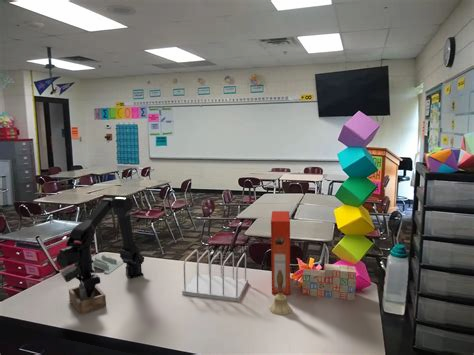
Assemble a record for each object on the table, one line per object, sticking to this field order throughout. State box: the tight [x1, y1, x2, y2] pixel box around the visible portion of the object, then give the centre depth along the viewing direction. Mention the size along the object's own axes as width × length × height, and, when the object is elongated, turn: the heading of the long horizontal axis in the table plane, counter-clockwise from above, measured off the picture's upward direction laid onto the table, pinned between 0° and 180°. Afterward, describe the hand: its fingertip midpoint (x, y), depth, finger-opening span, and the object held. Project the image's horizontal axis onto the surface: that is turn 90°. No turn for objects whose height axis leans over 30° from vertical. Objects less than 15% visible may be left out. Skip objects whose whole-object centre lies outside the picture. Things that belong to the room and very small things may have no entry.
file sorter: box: [181, 249, 249, 302], centre depth 151 cm, size 25×17×16 cm
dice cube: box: [78, 283, 94, 301], centre depth 140 cm, size 5×5×5 cm
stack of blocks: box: [301, 263, 357, 301], centre depth 145 cm, size 21×6×12 cm, turn 75°
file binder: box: [270, 210, 291, 296], centre depth 152 cm, size 8×17×32 cm, turn 172°
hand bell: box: [269, 270, 292, 316], centre depth 133 cm, size 8×8×16 cm
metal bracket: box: [92, 254, 125, 275], centre depth 177 cm, size 14×6×15 cm
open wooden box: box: [68, 284, 107, 316], centre depth 140 cm, size 10×15×5 cm, turn 39°
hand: (87, 294), depth 140 cm, fingers closed on dice cube, 5 cm apart
